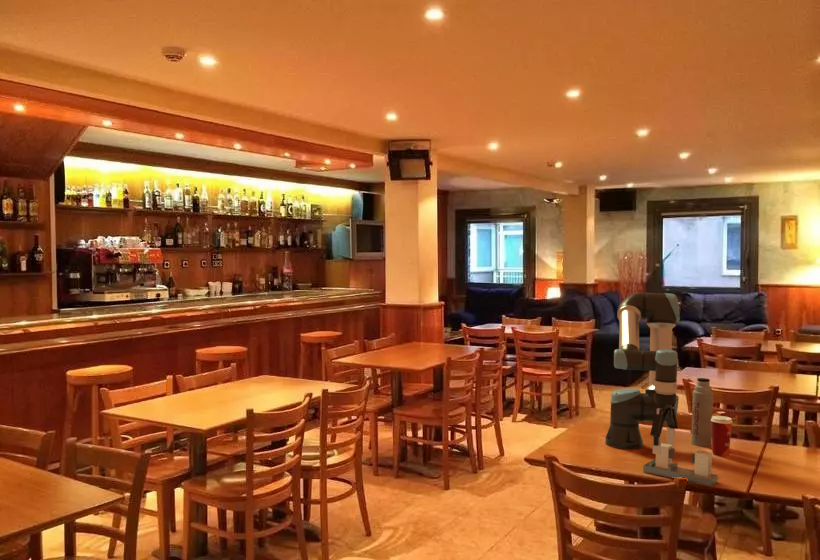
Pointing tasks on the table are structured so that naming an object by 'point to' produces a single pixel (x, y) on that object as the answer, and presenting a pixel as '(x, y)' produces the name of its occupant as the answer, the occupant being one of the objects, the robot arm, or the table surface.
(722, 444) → the coffee cup
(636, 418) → the robot arm
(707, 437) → the thermos bottle
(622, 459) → the table surface
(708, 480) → the rail
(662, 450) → the cream rectangular block
